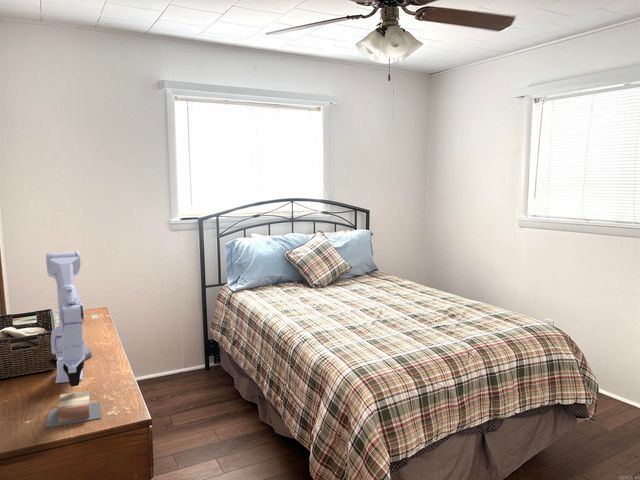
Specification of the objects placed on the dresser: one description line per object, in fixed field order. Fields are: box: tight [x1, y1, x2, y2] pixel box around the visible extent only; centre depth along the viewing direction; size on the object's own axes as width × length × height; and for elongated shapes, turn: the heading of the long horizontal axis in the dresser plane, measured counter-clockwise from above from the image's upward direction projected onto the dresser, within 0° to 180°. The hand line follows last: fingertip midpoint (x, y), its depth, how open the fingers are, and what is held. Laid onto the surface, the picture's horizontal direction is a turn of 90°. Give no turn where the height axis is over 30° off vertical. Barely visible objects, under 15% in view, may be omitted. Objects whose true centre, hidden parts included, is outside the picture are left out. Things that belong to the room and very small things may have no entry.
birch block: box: [57, 390, 91, 422], centre depth 142 cm, size 4×8×9 cm
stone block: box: [84, 343, 93, 361], centre depth 180 cm, size 12×5×10 cm
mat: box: [45, 401, 102, 429], centre depth 141 cm, size 10×14×1 cm
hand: (74, 385), depth 146 cm, fingers closed
